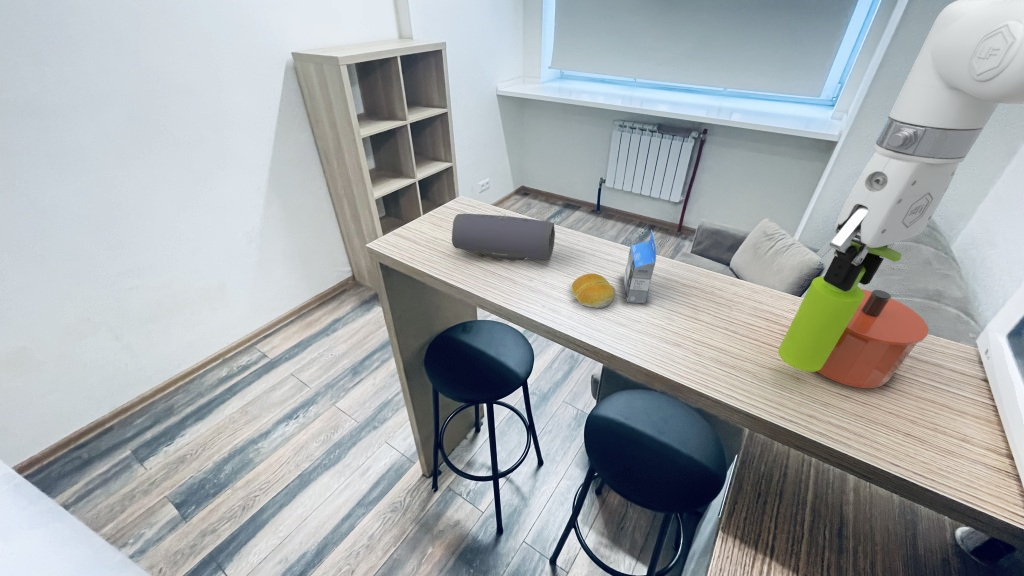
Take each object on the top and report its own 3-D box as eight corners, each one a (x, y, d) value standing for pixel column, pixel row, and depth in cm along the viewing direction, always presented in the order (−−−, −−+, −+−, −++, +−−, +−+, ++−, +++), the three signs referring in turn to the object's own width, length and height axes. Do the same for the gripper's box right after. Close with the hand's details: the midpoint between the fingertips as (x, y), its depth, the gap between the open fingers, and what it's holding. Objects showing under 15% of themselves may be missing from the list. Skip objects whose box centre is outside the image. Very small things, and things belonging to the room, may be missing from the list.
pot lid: (945, 333, 60) (965, 308, 57) (885, 359, 56) (903, 334, 53) (851, 284, 70) (864, 262, 67) (795, 304, 66) (806, 280, 63)
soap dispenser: (825, 381, 58) (899, 263, 47) (773, 358, 62) (829, 243, 51) (834, 360, 62) (906, 244, 50) (784, 339, 66) (839, 227, 54)
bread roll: (583, 313, 79) (585, 296, 77) (566, 287, 86) (568, 271, 84) (622, 305, 81) (625, 289, 79) (602, 281, 88) (604, 265, 86)
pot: (907, 374, 65) (942, 328, 60) (854, 398, 61) (886, 352, 56) (830, 326, 75) (854, 284, 69) (780, 345, 71) (801, 302, 65)
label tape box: (623, 278, 89) (631, 227, 82) (642, 279, 88) (652, 228, 81) (626, 302, 82) (636, 249, 75) (647, 304, 81) (658, 250, 74)
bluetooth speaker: (554, 251, 99) (556, 213, 93) (547, 271, 92) (549, 231, 86) (466, 241, 104) (462, 205, 98) (453, 260, 96) (448, 221, 91)
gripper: (915, 160, 38) (830, 314, 48) (1013, 138, 43) (916, 283, 53) (836, 139, 44) (775, 281, 54) (930, 123, 48) (857, 256, 59)
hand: (845, 281), depth 54 cm, fingers closed on soap dispenser, 3 cm apart
